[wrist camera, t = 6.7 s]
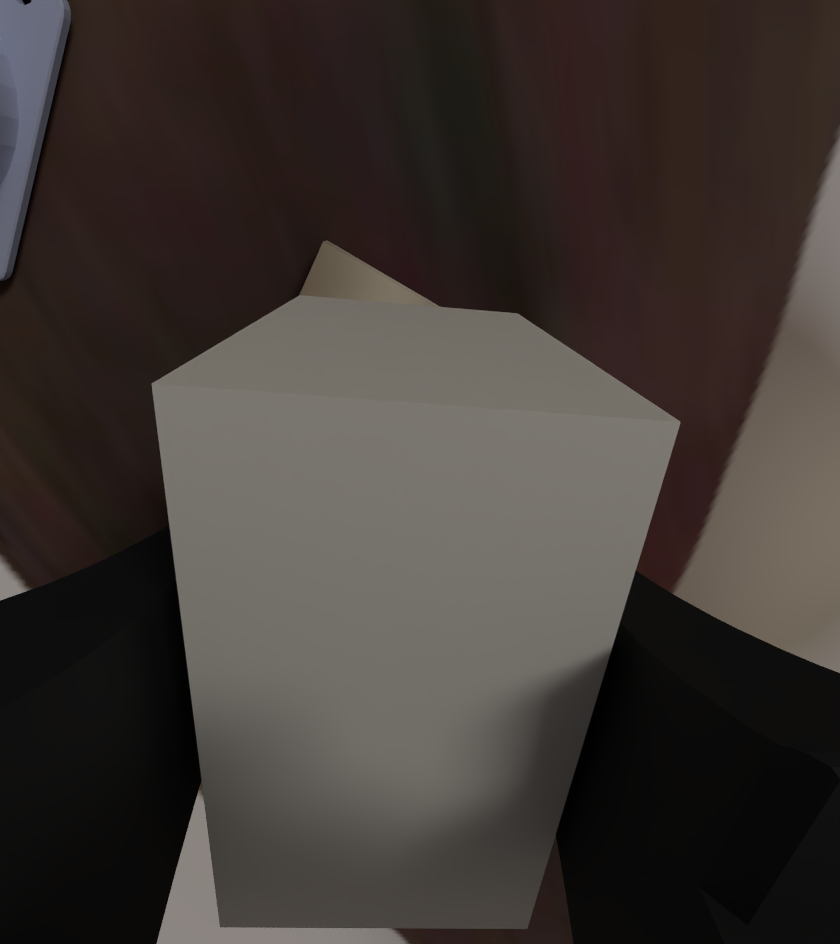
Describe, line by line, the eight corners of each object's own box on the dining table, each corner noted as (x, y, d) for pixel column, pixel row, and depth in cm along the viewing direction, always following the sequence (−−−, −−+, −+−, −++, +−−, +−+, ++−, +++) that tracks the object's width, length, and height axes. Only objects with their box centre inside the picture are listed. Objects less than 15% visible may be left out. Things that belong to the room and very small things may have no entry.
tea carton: (294, 610, 14) (205, 926, 8) (290, 294, 11) (126, 381, 4) (470, 617, 14) (526, 928, 8) (517, 313, 11) (681, 421, 5)
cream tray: (187, 553, 21) (142, 622, 17) (327, 240, 16) (306, 244, 13) (406, 642, 23) (407, 719, 20) (584, 391, 19) (628, 430, 15)
